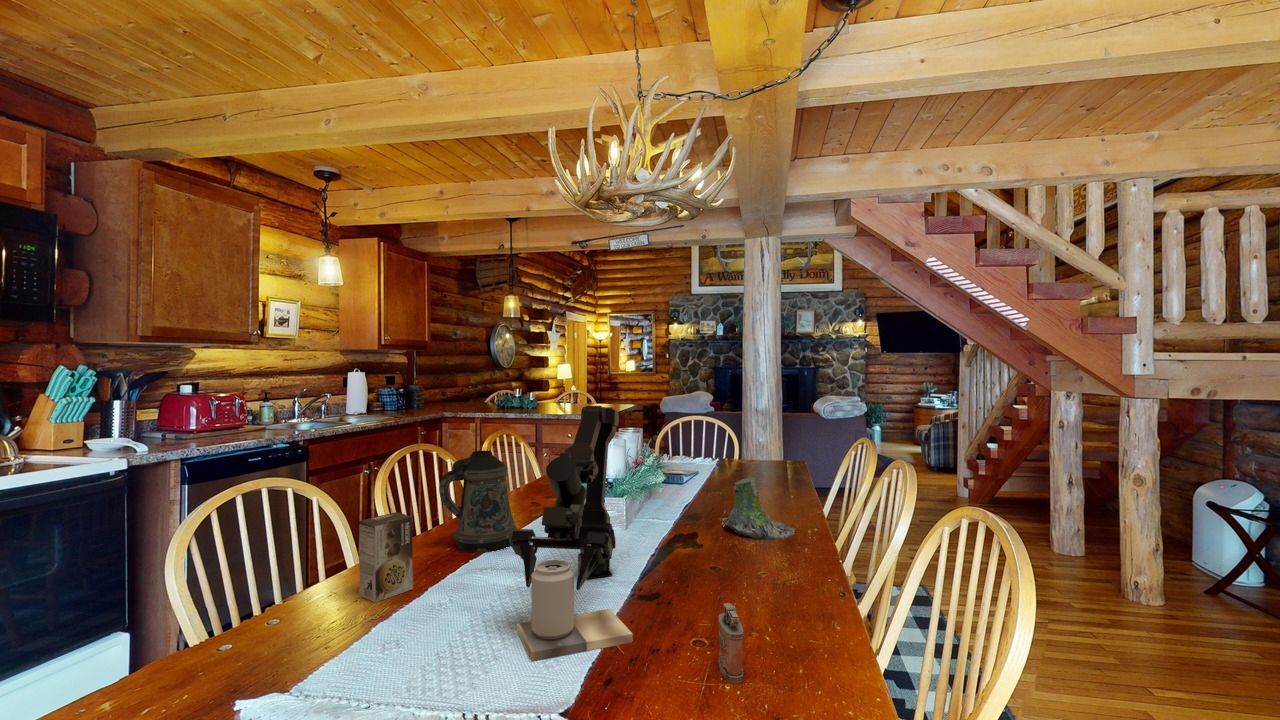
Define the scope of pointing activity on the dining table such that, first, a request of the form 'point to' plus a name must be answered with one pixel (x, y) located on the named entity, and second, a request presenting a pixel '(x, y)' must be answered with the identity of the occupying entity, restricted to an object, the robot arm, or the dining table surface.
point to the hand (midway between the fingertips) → (552, 587)
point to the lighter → (730, 644)
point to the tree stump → (753, 515)
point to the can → (552, 599)
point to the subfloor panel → (577, 636)
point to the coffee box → (385, 556)
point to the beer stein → (480, 503)
